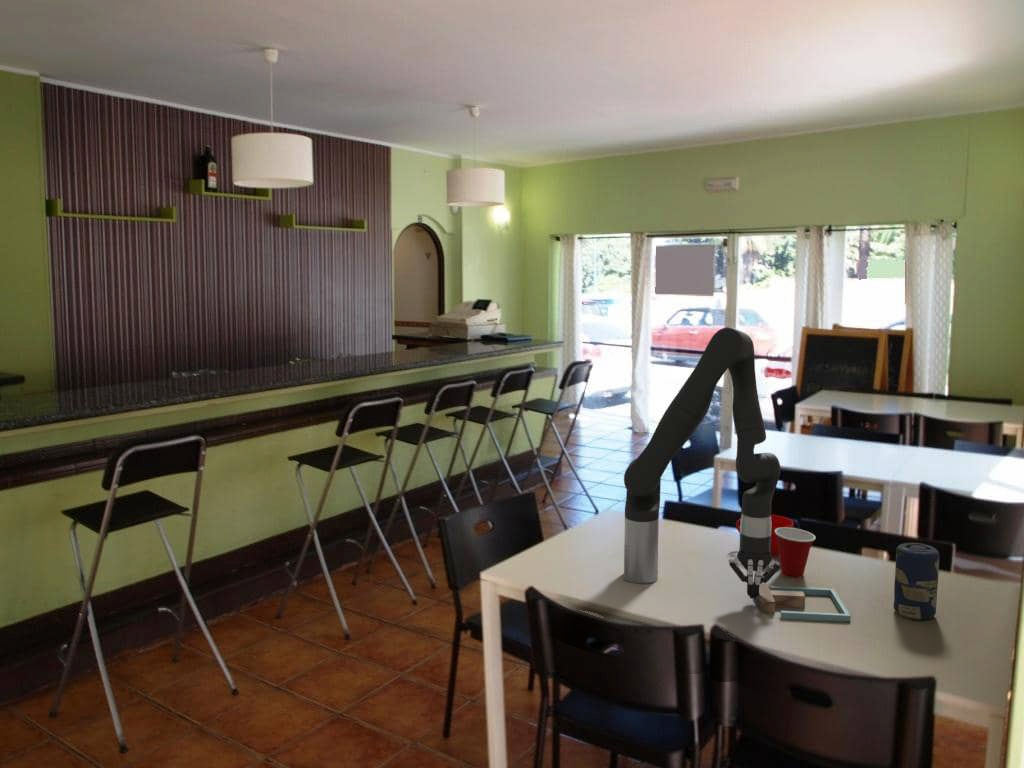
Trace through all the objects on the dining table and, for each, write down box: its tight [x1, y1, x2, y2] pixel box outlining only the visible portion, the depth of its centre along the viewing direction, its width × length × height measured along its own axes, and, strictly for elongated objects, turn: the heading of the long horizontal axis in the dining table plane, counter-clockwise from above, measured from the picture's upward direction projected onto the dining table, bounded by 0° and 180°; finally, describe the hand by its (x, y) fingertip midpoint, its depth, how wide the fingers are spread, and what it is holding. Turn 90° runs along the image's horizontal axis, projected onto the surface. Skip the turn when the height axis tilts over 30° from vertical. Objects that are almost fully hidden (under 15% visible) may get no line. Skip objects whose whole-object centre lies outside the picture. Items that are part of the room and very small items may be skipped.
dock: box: [769, 585, 852, 622], centre depth 207 cm, size 16×17×2 cm
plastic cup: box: [775, 527, 816, 579], centre depth 228 cm, size 11×11×12 cm
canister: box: [893, 542, 940, 620], centre depth 200 cm, size 10×10×18 cm
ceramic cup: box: [735, 514, 794, 558], centre depth 246 cm, size 13×17×10 cm
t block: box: [756, 583, 806, 614], centre depth 208 cm, size 11×12×3 cm
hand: (752, 597), depth 209 cm, fingers closed
